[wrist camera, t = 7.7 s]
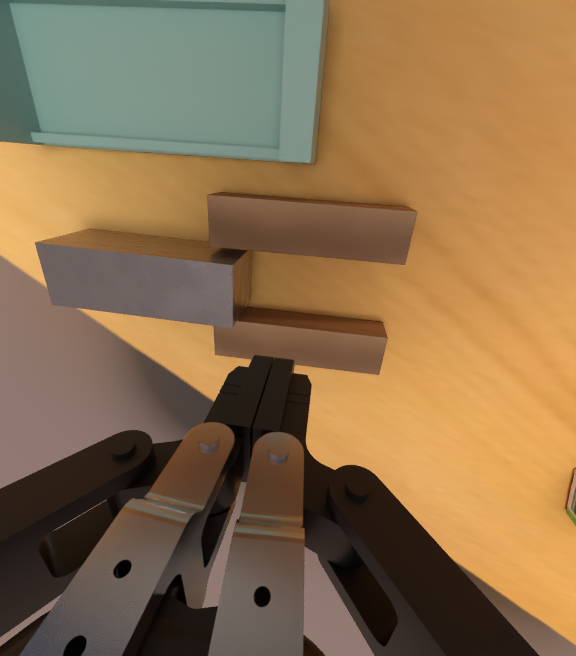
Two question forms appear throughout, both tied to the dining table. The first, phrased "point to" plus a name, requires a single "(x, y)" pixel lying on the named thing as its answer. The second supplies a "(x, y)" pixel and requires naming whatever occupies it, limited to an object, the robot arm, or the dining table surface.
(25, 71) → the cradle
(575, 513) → the syrup box
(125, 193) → the dining table surface
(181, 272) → the grey rectangular block
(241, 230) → the slotted beam
